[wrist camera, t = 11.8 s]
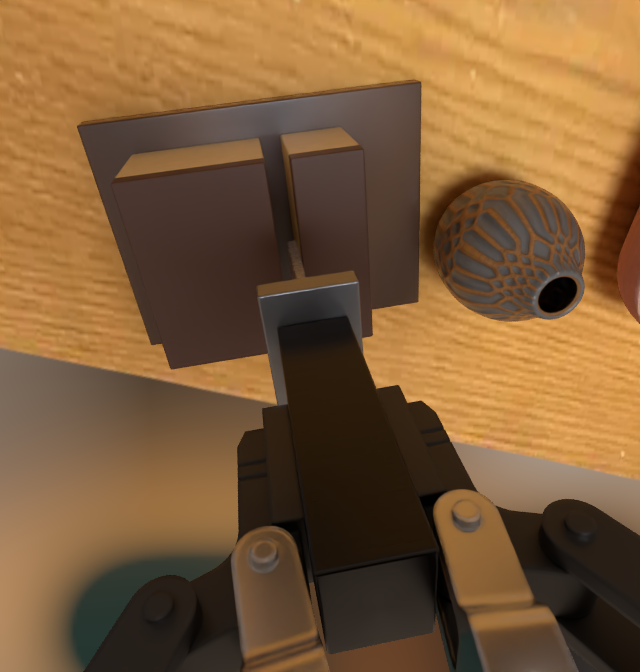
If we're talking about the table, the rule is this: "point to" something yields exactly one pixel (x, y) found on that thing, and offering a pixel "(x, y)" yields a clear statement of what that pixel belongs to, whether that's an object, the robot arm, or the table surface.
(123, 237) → the cake board
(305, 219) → the cake slice
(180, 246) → the cake
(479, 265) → the vase
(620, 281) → the mitochondrion model
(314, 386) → the knife
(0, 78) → the table surface
